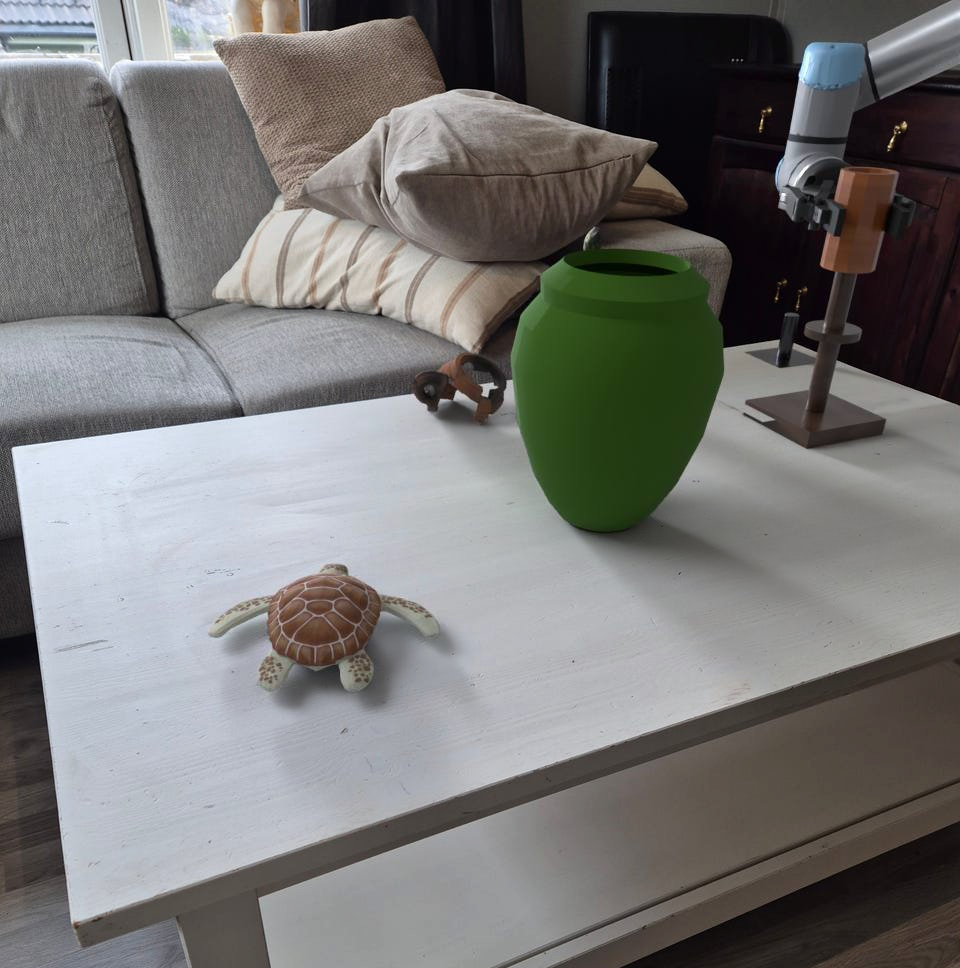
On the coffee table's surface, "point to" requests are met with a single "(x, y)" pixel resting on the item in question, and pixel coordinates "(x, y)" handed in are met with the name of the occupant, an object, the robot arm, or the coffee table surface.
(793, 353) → the low peg
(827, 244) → the octagonal wooden sleeve
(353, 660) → the decorative turtle
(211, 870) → the coffee table surface
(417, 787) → the coffee table surface
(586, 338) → the vase
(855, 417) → the brown peg stand
